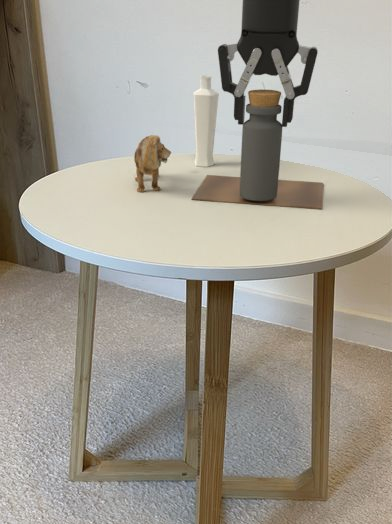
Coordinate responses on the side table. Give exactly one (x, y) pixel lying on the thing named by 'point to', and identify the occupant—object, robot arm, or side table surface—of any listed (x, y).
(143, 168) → the lion figurine
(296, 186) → the copper mat
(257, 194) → the bottle
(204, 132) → the perfume bottle
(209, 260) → the side table surface
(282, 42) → the robot arm
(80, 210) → the side table surface
